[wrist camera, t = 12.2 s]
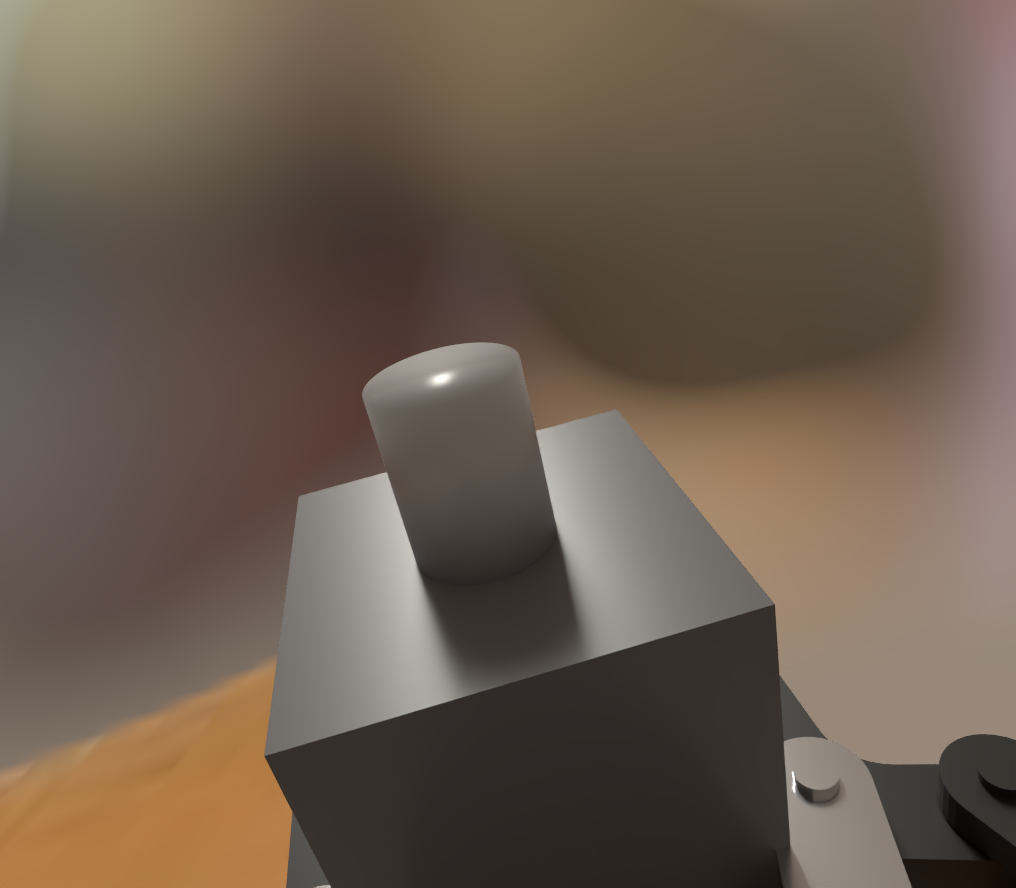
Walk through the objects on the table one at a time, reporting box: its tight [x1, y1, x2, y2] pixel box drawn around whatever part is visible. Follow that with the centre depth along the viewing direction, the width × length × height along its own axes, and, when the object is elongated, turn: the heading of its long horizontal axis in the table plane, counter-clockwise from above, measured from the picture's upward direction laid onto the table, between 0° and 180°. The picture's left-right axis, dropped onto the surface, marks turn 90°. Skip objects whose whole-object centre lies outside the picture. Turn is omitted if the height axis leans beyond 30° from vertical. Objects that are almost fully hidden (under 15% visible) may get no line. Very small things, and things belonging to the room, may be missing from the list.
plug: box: [264, 343, 790, 888], centre depth 11 cm, size 4×4×14 cm
